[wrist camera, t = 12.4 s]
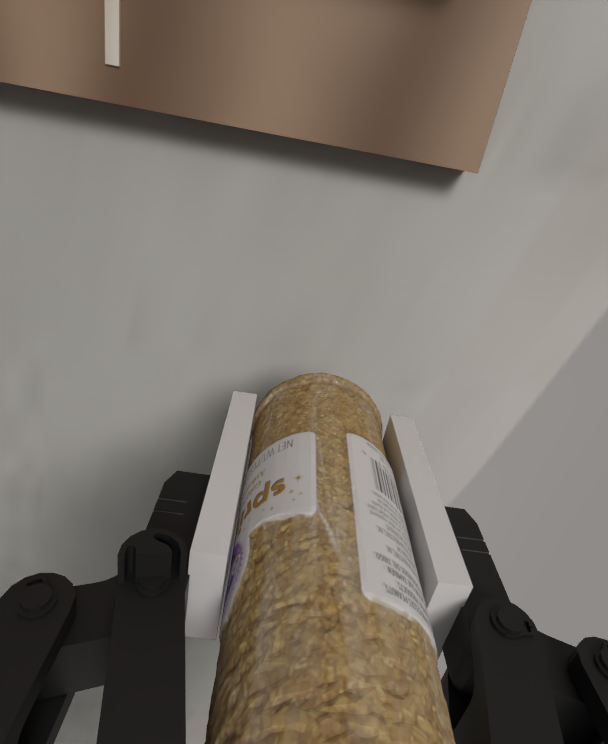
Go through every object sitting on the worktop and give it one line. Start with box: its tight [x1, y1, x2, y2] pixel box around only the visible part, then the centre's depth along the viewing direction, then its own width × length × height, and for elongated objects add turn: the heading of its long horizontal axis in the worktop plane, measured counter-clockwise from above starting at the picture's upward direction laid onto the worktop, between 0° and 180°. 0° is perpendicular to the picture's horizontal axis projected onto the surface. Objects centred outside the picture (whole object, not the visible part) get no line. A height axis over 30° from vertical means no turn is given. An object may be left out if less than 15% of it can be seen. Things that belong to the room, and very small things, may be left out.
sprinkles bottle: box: [205, 373, 456, 744], centre depth 11 cm, size 5×5×14 cm
